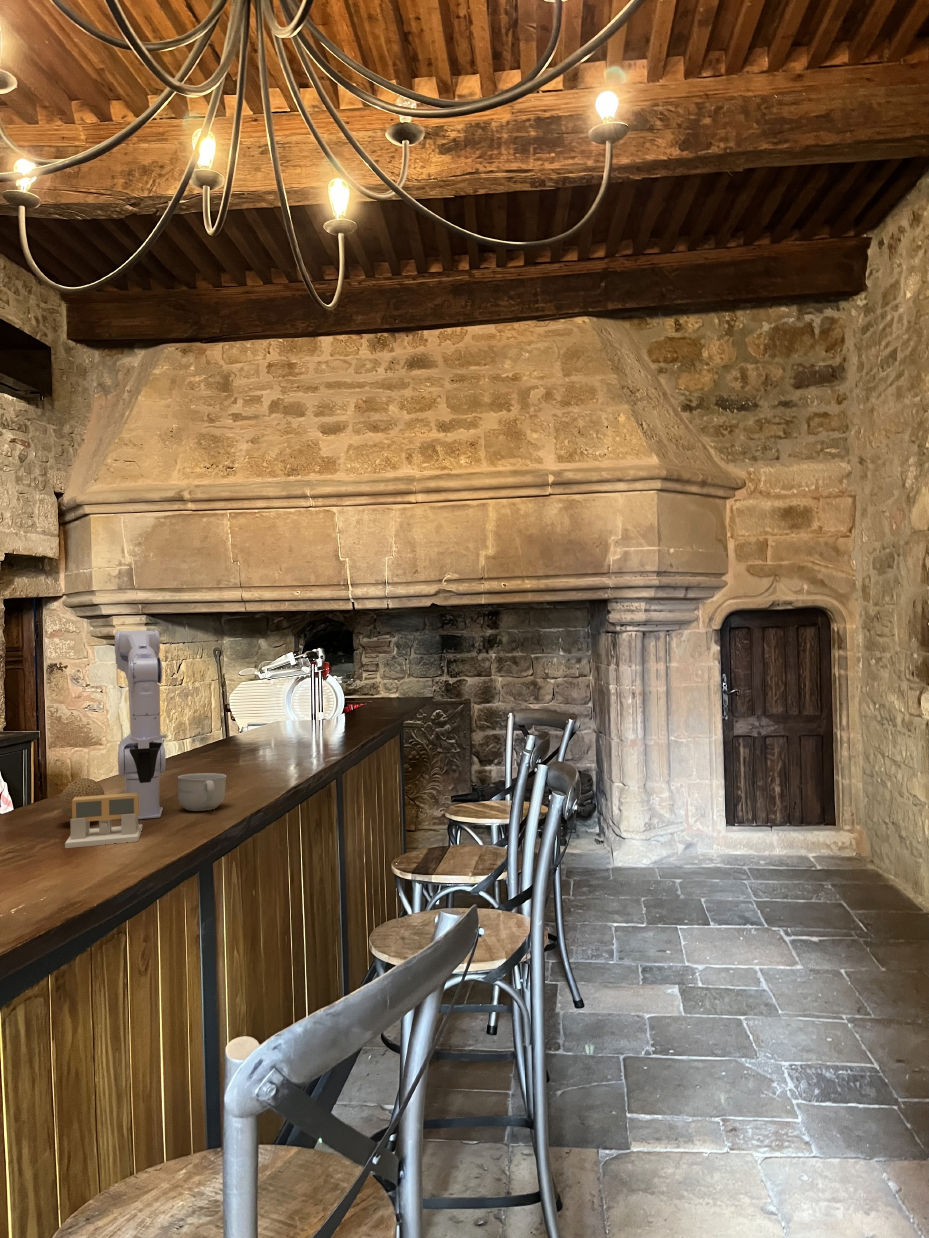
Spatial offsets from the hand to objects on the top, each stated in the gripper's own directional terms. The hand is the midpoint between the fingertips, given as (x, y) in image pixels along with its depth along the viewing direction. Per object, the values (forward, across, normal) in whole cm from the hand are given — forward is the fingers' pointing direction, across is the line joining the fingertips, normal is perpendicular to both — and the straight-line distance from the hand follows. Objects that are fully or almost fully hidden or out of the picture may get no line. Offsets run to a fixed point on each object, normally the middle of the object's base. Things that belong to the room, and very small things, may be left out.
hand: (146, 779), depth 168 cm
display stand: (+10, -4, +8) cm, 14 cm away
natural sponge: (+10, +12, +14) cm, 21 cm away
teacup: (+10, +16, -11) cm, 22 cm away
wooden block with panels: (+6, -4, +7) cm, 11 cm away
